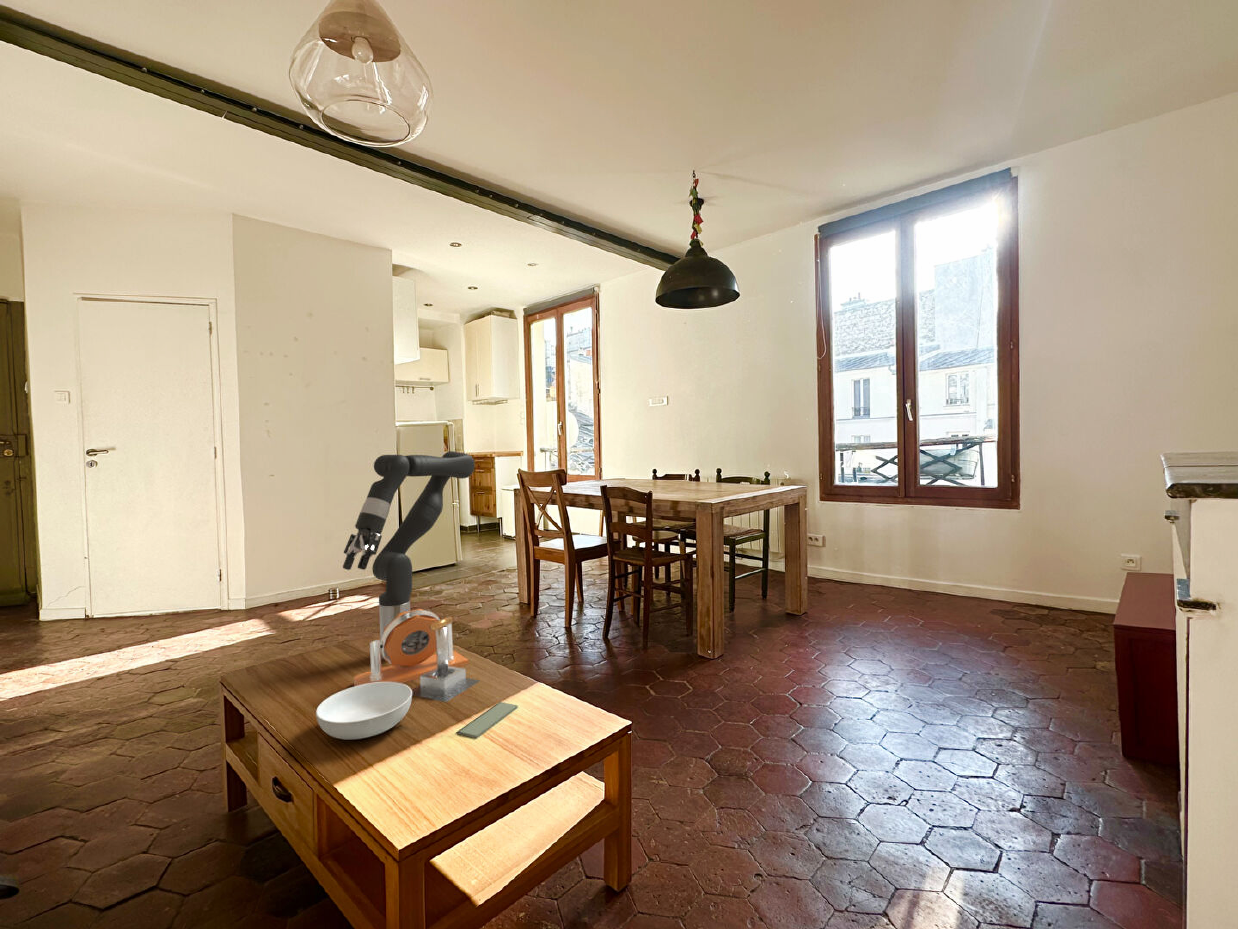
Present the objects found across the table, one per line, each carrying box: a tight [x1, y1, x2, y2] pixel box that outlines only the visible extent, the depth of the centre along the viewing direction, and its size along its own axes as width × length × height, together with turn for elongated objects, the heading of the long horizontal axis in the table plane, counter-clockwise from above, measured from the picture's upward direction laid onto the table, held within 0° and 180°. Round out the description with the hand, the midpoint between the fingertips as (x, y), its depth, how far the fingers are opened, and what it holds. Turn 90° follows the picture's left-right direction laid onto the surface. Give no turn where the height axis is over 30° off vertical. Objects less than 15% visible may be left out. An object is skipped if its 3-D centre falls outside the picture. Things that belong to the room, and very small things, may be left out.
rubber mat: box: [455, 701, 519, 739], centre depth 139 cm, size 16×16×1 cm
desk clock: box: [353, 608, 469, 687], centre depth 165 cm, size 12×30×20 cm, turn 129°
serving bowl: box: [315, 682, 413, 741], centre depth 134 cm, size 21×21×7 cm
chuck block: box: [411, 666, 481, 703], centre depth 154 cm, size 14×14×5 cm
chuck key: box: [429, 616, 454, 678], centre depth 154 cm, size 7×4×18 cm, turn 155°
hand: (353, 569), depth 161 cm, fingers open, 8 cm apart
